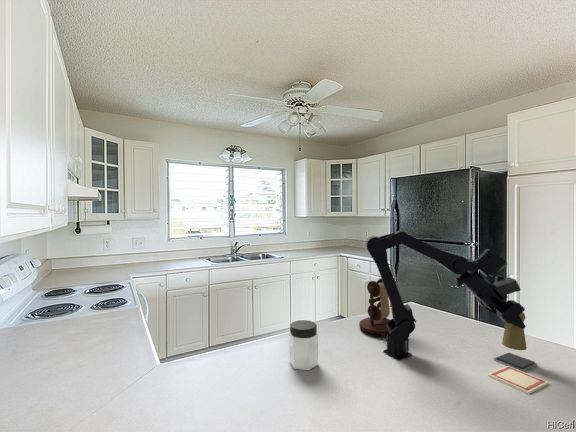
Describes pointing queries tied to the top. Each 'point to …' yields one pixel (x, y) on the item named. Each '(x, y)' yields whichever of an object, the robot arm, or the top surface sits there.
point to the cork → (514, 336)
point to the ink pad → (515, 361)
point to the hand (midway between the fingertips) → (519, 324)
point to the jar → (303, 345)
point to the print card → (518, 379)
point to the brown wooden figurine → (376, 310)
